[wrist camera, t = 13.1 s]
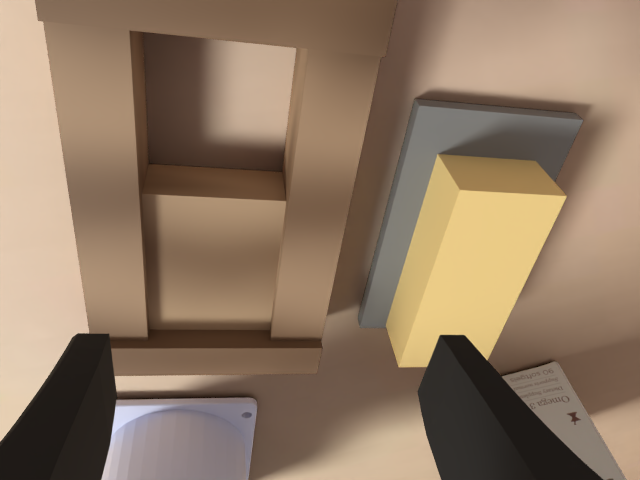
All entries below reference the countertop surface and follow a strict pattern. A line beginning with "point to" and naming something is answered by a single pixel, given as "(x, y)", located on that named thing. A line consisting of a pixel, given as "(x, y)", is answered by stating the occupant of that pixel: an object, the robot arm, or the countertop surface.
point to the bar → (470, 253)
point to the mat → (464, 140)
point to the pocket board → (211, 185)
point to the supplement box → (564, 415)
